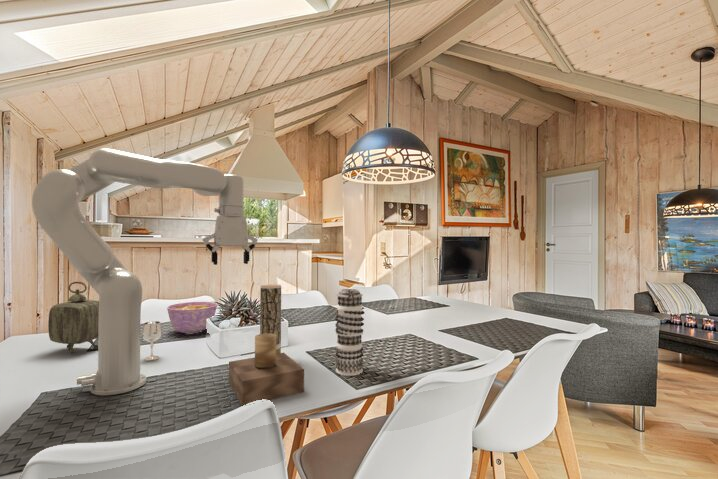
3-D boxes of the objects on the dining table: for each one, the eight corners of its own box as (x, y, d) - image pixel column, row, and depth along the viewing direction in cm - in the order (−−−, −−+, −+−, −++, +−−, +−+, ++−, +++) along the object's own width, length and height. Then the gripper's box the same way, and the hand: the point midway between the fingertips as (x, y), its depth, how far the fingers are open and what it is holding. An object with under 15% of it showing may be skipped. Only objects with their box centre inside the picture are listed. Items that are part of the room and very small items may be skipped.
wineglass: (139, 358, 119) (140, 322, 119) (158, 354, 123) (159, 320, 123) (144, 362, 115) (144, 325, 115) (163, 358, 119) (164, 322, 119)
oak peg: (257, 393, 92) (258, 340, 92) (252, 385, 97) (252, 335, 97) (278, 388, 95) (279, 337, 95) (272, 381, 100) (272, 332, 100)
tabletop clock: (105, 348, 129) (105, 280, 129) (83, 356, 120) (84, 283, 120) (69, 347, 131) (69, 280, 131) (45, 354, 122) (45, 282, 122)
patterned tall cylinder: (369, 368, 110) (370, 289, 110) (354, 378, 102) (354, 292, 102) (345, 363, 115) (345, 287, 115) (328, 372, 107) (329, 290, 107)
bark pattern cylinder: (275, 364, 114) (276, 287, 114) (256, 362, 115) (256, 286, 115) (284, 357, 121) (284, 284, 121) (265, 355, 122) (266, 284, 122)
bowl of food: (208, 324, 167) (209, 300, 168) (223, 332, 152) (223, 306, 152) (161, 331, 155) (162, 304, 155) (172, 341, 139) (172, 312, 139)
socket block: (242, 406, 85) (242, 381, 85) (228, 383, 98) (228, 361, 99) (304, 391, 93) (304, 369, 93) (283, 372, 107) (283, 352, 107)
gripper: (204, 210, 108) (204, 265, 108) (260, 212, 118) (260, 264, 117) (201, 211, 115) (200, 264, 115) (254, 214, 124) (254, 262, 124)
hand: (230, 264), depth 116 cm, fingers open, 9 cm apart
